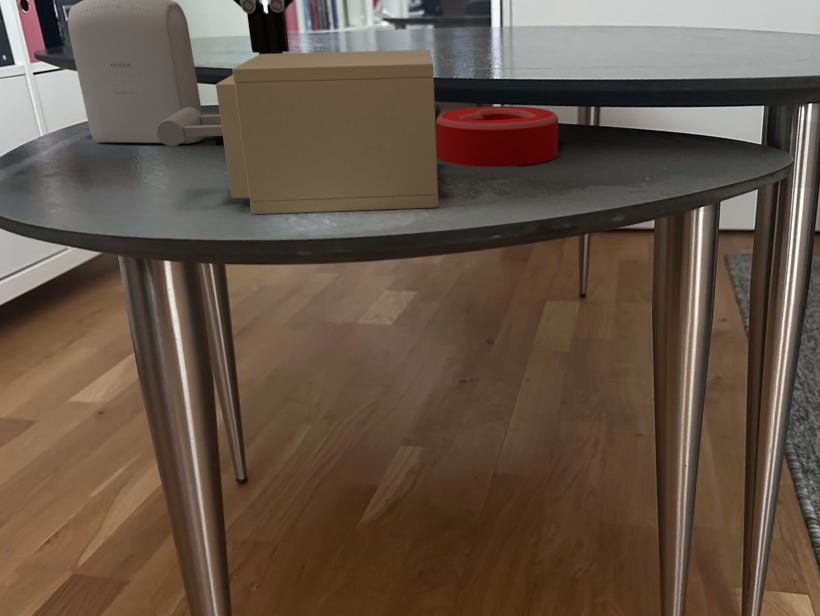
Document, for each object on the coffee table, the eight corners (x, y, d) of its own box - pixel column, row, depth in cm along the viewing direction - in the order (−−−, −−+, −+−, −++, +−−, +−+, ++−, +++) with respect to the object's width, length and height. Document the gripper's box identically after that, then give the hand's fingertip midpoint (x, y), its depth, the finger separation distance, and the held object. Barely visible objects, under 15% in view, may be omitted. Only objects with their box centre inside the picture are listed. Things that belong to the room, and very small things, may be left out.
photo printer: (84, 145, 76) (52, -6, 70) (112, 136, 79) (84, -8, 74) (189, 147, 74) (165, -8, 68) (213, 138, 77) (191, -10, 72)
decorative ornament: (558, 166, 64) (559, 123, 62) (431, 167, 64) (429, 124, 63) (556, 143, 72) (557, 104, 71) (443, 143, 73) (442, 105, 72)
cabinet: (251, 214, 53) (231, 68, 49) (274, 180, 61) (259, 53, 58) (438, 207, 53) (433, 63, 50) (434, 174, 62) (429, 49, 58)
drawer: (160, 201, 52) (140, 86, 50) (192, 172, 60) (176, 71, 57) (401, 192, 53) (394, 79, 50) (402, 165, 61) (396, 65, 58)
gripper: (131, -191, 63) (174, 69, 71) (333, -195, 64) (354, 62, 72) (158, -176, 70) (195, 60, 78) (341, -179, 71) (359, 54, 78)
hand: (271, 60), depth 75 cm, fingers closed
